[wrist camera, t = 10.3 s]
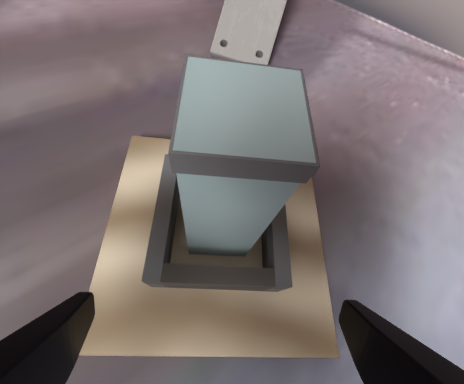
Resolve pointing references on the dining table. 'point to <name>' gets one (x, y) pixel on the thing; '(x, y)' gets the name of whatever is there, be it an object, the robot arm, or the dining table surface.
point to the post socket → (205, 277)
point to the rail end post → (238, 149)
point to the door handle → (247, 30)
